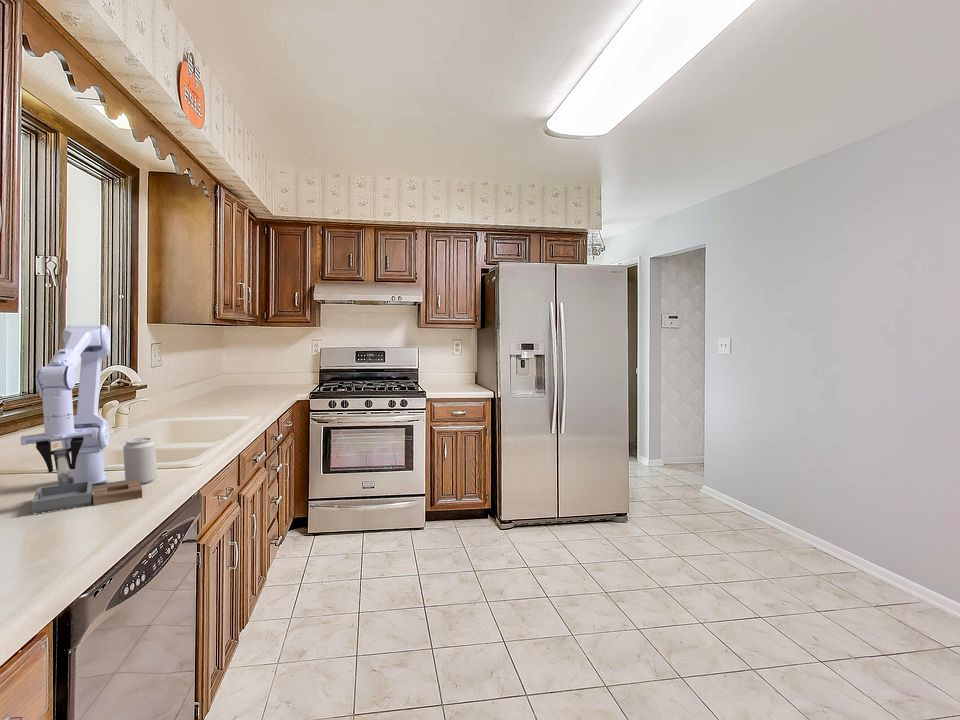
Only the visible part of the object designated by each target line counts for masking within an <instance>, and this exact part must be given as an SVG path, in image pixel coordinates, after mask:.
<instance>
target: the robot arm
mask: <svg viewBox="0 0 960 720" xmlns="http://www.w3.org/2000/svg"><path fill="white" fill-rule="evenodd" d="M110 331H111V330H110V328H109V327H108V326H107V325H106V324H101V325H100V324H96V325H90V324H89V325H72V324H67V325H66V326H65V327H64V329H63V331H62V339H63V343H64V347H63V348H60V349H59V350H57V351H56V352H55V353H54V355H53V356H52V357H51V359H50V361H49V363H48V364H47V365H46V366H42V367H41V368H39V369H38V370H37V372H36V376H35V377H36V378H35V381H36V386H37V388H38V391H39V397H40V398H41V399H42V411H43V414H42V415H43V425H44V426H43V427H44V428H43V429H44V433H37V434H29V435H28V434H27V435H22V436H20V446H27V445H33V444H34V445H36V446H35V448H36V450H37V452H39V454H40V456H41V457H42V459H43V460H44V462H45V465H46V467H47V471H48V473H53V471H54V466H53V459H52V455H51V451H52V442H53V443H54V442H61V445H62V448H71V451H70V452H69V454H70V461H71V468H72V472H73V478H74V483H76V482H83V481H90V480H92V486H93V485H99V484H106V483H107V479H108V477H107V473H105V460H104V449H106V448H107V447H108V445H109V444H110V439H111V437H110V436H111V433H110V424H109V422H108V420H107V419H105V418H104V417H102V416H100V415H99V401H100V389H101V388H100V387H101V373H102V366H103V365H102V364H103V359H105V358H106V357H108V356H110V350H111V341H112V340H111V332H110ZM79 367H80V370H79V382H78V393H77V394H78V395H77V405H76V406H77V407H76V414H75V415H74V404H73V389H74V387H75V385H76V381H77V380H76V379H77V370H78V368H79Z"/></svg>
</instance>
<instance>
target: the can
mask: <svg viewBox="0 0 960 720" xmlns="http://www.w3.org/2000/svg"><path fill="white" fill-rule="evenodd" d="M125 443H126V444H124V446H123V448H122V449H123V465H124V466H123V467H124V481H125V482H131V481H138V480H140V482H141V484H142V485H146V484H150V483H152V482H154V481H155V480H156V479H157V477H158V470H157V469H158V467H157V451H156V450H157V447H156V443H155V442H154V441H153V438H152V437H137V438H131V439H128V440H126V441H125Z"/></svg>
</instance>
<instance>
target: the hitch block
mask: <svg viewBox="0 0 960 720" xmlns="http://www.w3.org/2000/svg"><path fill="white" fill-rule="evenodd" d="M135 498H136V499H141V498H142V499H143V488H142V485H141V482H140V480H138V481H131V482H126V481H125V482H118V483H112V484H106V485H100V486H99V485H98V486H93V494H92V501H93V506H98V505H97V504H99V505H103V504H111V503H116V502H123V501H128V500H135Z"/></svg>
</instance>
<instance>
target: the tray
mask: <svg viewBox="0 0 960 720" xmlns="http://www.w3.org/2000/svg"><path fill="white" fill-rule="evenodd" d="M93 493H94V489H93V485H92V480H90V481H83V482H76V483H72V484H69V485H65V486H59V484H57V485H56V484H55V485H49V486H43V487H42V486H41V487H37V489H36V492H35V494H34V496H33V499H32V500H31V514H32V515H33V514H34V513H41V514H43V513H42V512H47V513H49V512H48V511H53V512H55V511H54V510H59V511H61V510H60V509H65V510H68V509H67V508H71V509H74V508H73V507H77V508H83V507H82V506H84V507H89V506H88V505H90V506H92V503H91V502H92V501H93Z"/></svg>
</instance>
